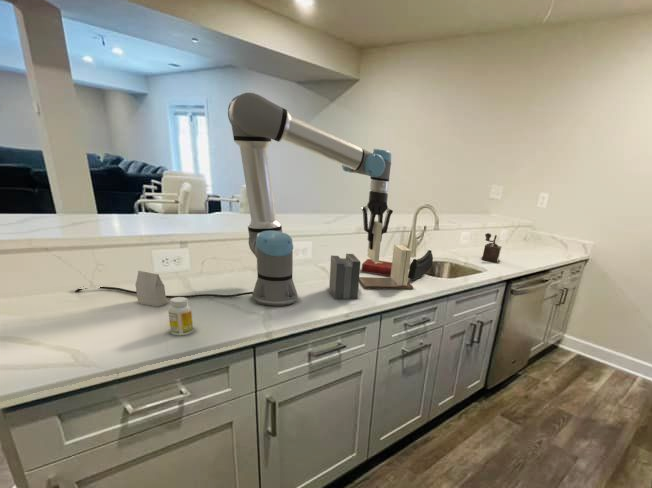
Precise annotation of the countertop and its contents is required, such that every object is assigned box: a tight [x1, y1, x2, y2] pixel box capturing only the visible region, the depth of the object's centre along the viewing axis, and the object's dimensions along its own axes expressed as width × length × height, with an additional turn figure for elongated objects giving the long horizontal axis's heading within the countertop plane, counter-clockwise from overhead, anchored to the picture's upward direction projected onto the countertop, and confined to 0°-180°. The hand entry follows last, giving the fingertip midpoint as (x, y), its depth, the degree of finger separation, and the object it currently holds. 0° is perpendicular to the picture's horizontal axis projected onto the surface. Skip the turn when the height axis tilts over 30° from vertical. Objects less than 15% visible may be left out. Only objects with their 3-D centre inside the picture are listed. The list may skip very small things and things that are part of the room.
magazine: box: [408, 249, 434, 280], centre depth 193 cm, size 17×3×30 cm
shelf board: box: [359, 276, 414, 290], centre depth 173 cm, size 22×13×1 cm, turn 112°
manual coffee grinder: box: [481, 232, 502, 264], centre depth 250 cm, size 16×11×18 cm
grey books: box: [328, 253, 361, 300], centre depth 151 cm, size 9×12×15 cm
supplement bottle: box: [167, 297, 194, 336], centre depth 105 cm, size 5×5×10 cm
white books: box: [389, 243, 412, 286], centre depth 172 cm, size 4×11×16 cm, turn 22°
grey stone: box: [134, 270, 167, 307], centre depth 119 cm, size 4×7×10 cm, turn 79°
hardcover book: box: [361, 258, 392, 277], centre depth 191 cm, size 12×21×4 cm, turn 84°
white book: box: [366, 219, 382, 262], centre depth 163 cm, size 2×11×16 cm, turn 22°
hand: (373, 248), depth 164 cm, fingers closed on white book, 2 cm apart
